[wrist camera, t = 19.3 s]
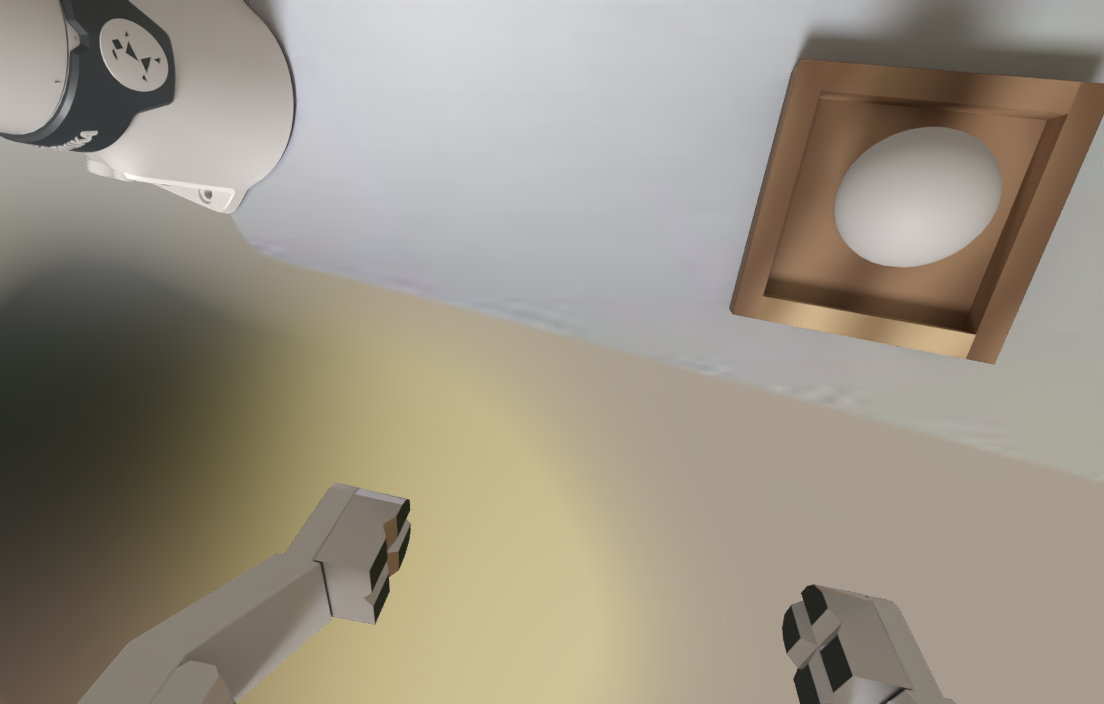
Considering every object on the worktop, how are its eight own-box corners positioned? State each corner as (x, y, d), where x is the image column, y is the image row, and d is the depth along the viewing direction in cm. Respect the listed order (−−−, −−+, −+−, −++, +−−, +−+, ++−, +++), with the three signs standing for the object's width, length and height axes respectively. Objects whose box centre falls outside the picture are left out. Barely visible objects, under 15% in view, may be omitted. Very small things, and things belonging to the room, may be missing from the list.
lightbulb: (892, 141, 28) (1016, 79, 18) (922, 239, 29) (1059, 234, 18) (784, 186, 30) (839, 154, 20) (815, 277, 31) (884, 291, 20)
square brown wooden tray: (729, 308, 33) (732, 314, 31) (791, 73, 29) (801, 58, 27) (970, 354, 30) (994, 364, 28) (1077, 98, 26) (1116, 84, 24)
